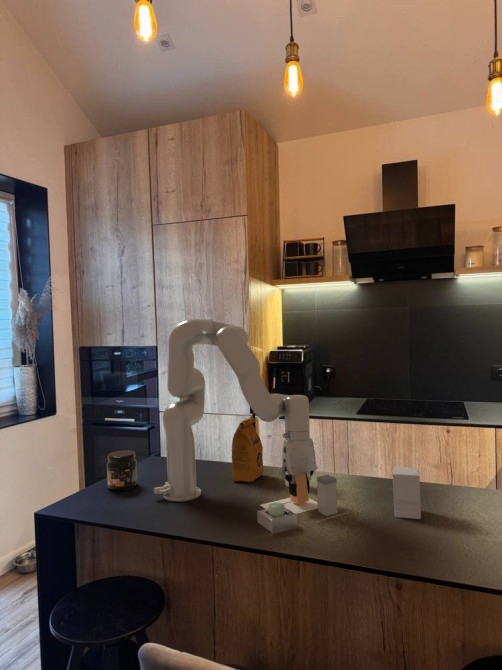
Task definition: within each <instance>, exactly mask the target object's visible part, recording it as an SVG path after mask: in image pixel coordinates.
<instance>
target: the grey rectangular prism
mask: <svg viewBox="0 0 502 670" xmlns="http://www.w3.org/2000/svg"><path fill="white" fill-rule="evenodd" d="M316 486H317V487H316V489H317V503H318V509H317V513H319V514H322V516H323V515H324V516H325V517H328V516H332V515H336V514H338V495H337V494H338V493H337V492H338V491H337V490H338V489H337V477H334V476H332V475H329V474H325V475H321V476H316Z"/></svg>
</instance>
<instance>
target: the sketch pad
mask: <svg viewBox="0 0 502 670" xmlns="http://www.w3.org/2000/svg"><path fill="white" fill-rule="evenodd" d="M308 498H309V501H307V502H303V503H299V504H298V503H294V502H291V497H286V498H284V499H279V500H275V501H270V502H265V503H262V504H259V506H260V507H262V508H263V509H268V508H269V504H272V503H282V504H284V507H285V508H287V509H288V510H290V511H292V512H293V513H295V514H297V515H298V514H302V513H307V512H310V511H314V510H318V501H316V500H313V499H312V498H310V497H308Z"/></svg>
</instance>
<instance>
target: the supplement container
mask: <svg viewBox="0 0 502 670" xmlns="http://www.w3.org/2000/svg"><path fill="white" fill-rule="evenodd" d="M135 458H136V452H135V451H133V450H124V449H122V450H116V451H112V452H110V453H109V454H107V461H108V462H107V463H106V472H107V473H106V474H107V487H108V489H109V490H111V491H114V492H115V491H117V492H118V491H127V490H131V489H133V488H135V487H136V486H137V484H138V470H137V469H138V468H137V466H138V462H137V459H135Z"/></svg>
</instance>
